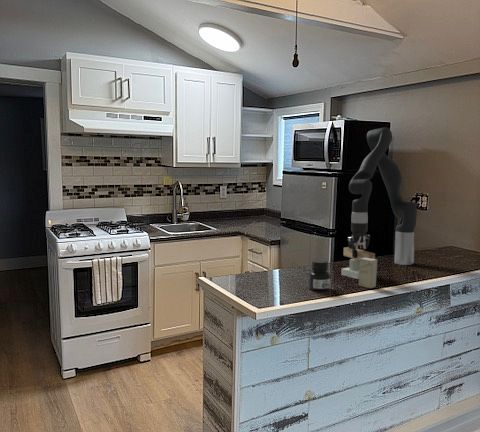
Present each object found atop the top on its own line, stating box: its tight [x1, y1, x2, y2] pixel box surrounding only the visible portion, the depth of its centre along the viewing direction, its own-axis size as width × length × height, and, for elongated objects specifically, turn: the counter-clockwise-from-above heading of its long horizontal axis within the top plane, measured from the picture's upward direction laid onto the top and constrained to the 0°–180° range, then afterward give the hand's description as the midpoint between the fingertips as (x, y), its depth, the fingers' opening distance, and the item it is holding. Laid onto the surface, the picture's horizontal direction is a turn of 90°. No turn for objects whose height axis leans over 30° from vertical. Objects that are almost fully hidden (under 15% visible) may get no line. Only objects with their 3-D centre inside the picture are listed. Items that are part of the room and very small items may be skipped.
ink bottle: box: [308, 259, 331, 292], centre depth 195 cm, size 10×9×12 cm
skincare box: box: [358, 257, 378, 289], centre depth 199 cm, size 6×4×12 cm
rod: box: [342, 246, 376, 260], centre depth 218 cm, size 4×18×4 cm, turn 24°
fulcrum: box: [340, 258, 360, 280], centre depth 219 cm, size 12×10×8 cm
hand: (358, 257), depth 219 cm, fingers closed on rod, 4 cm apart
